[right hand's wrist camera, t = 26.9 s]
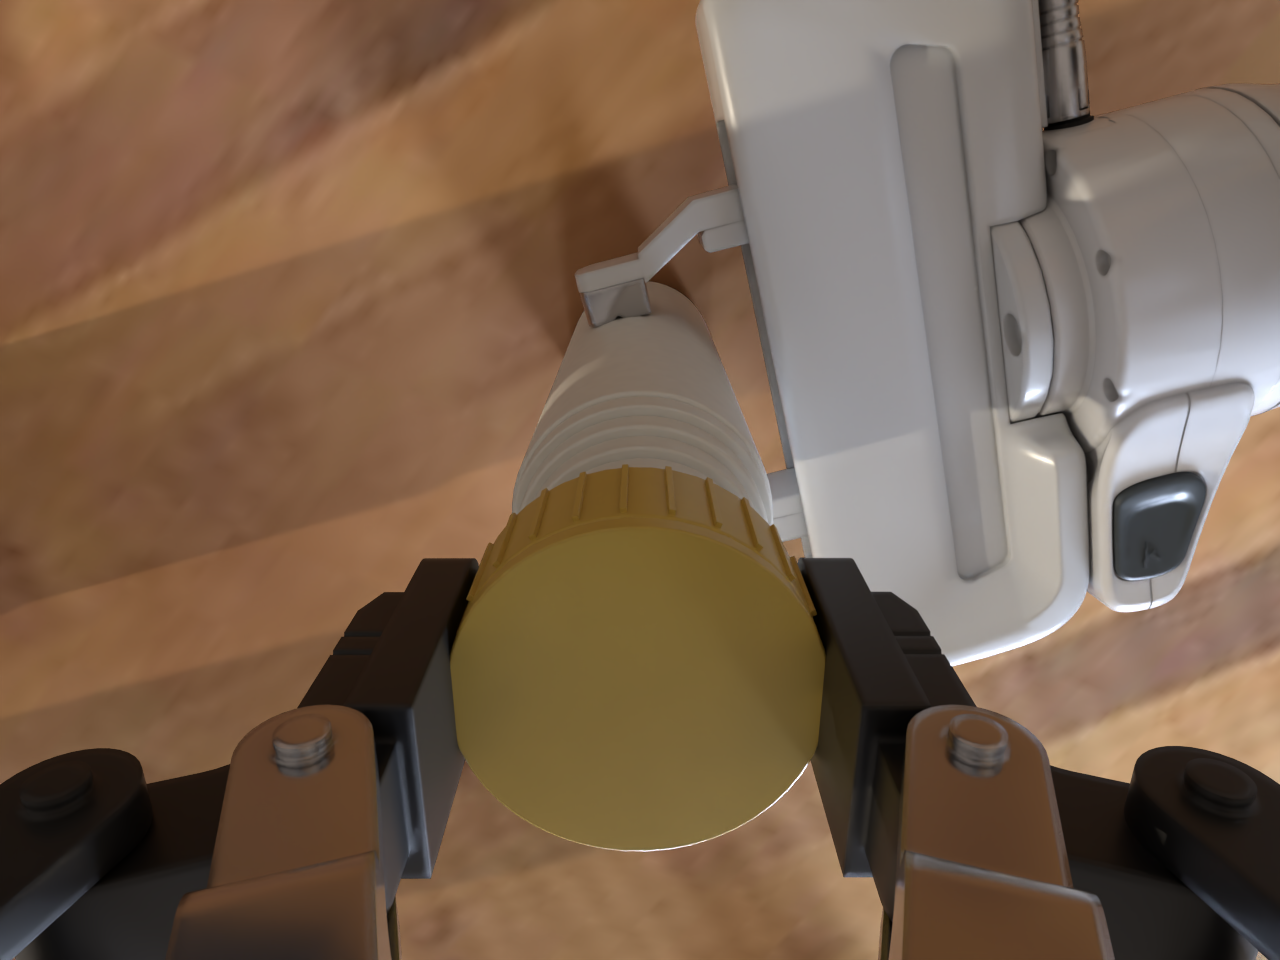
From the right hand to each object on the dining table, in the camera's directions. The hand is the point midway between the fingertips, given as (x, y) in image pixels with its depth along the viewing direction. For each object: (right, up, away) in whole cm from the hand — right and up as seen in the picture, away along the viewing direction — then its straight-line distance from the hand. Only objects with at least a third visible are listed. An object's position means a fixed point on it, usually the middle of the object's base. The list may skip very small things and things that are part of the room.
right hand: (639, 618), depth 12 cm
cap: (0, -1, -2) cm, 2 cm away
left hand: (-1, +4, +12) cm, 13 cm away
